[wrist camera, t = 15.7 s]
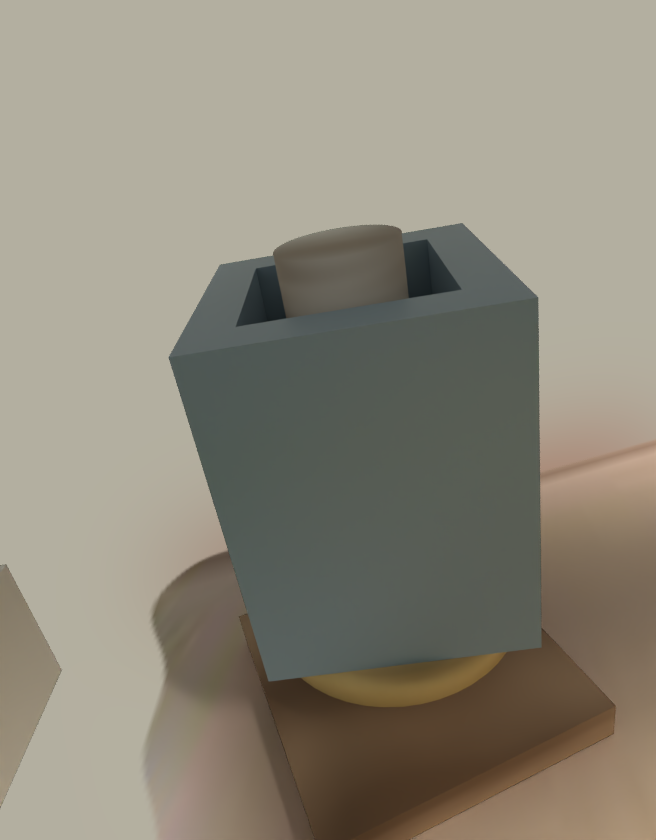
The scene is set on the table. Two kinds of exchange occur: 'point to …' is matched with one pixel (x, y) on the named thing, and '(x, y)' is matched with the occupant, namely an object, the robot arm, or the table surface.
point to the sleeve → (375, 460)
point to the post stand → (419, 682)
